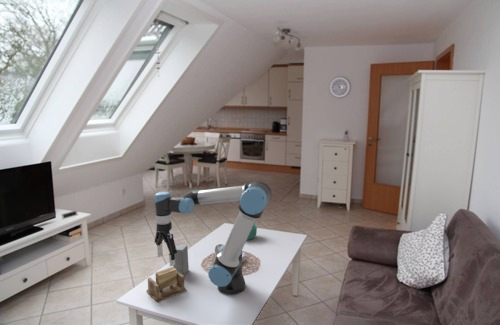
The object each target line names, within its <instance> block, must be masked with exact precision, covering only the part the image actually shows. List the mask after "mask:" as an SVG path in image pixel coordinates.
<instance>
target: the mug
mask: <svg viewBox="0 0 500 325" xmlns="http://www.w3.org/2000/svg"><path fill="white" fill-rule="evenodd" d="M257 232H258V231H257V224H255V223H254V225H253V227H252V229H251V232H250V234H249V236H248V238H247V240H252V239H255V238H256V236H257ZM247 240H246V241H247Z"/></svg>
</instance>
